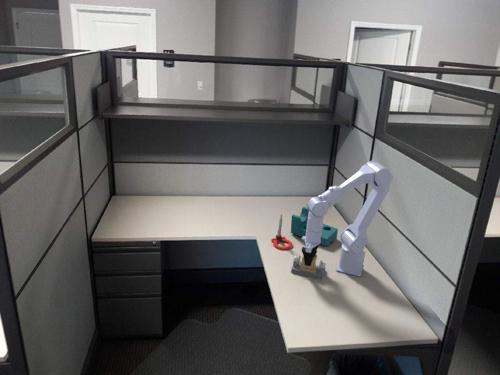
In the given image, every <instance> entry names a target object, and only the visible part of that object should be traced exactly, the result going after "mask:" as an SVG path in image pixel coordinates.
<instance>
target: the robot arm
mask: <svg viewBox="0 0 500 375" xmlns="http://www.w3.org/2000/svg"><path fill="white" fill-rule="evenodd" d="M393 179H394V177H393V175H392V172H391V170H390V169H389V168H387V167H385V166H383V165H382V164H380V163H379V162H378V161H376V160H369V161H368V162H366V163H365V164H364V165H362V166H361V167H360V168H359V170H358V171H356V173H354V174H352V175H351V177H349V178H348V179H346V180H345V181H344V182H343V183H341V184H340V185H332V186H329V187H328V189H327V190H326V191H324V192H322V193H321V194H319V195H317V196H314V197H311V198H310V199H309V201H308V202H307V203H306V208H308V209H309V214H308V221H307V229H306V236H303V237H301V240H302V241H303V242H304V243H305V246H302V248H301V253H302V257H303V256H304V263H305V265H307V266H311V263H312V260H313V257H314V256H315V255H317V253H318V248H319V246H320V245H321V244H320V243H321V241H322V239H321V233H322V226H323V224H324V218H325V216H326V215H327V214H328V212H329V210H330V209H331V208H332V207H333V206H334V205H336V204H338V203H340V202H341V201H342V200H344V198H345V194H347V193H349V192H351V191H352V190H354V189H355V188H357V187H359V186H360V185H362V184H368V185H371V187H372V189H371V190H370V191H371V192H369V194H368V196H367V198H366V200H365V201H364V204H363V205H362V207H361V208H360V211H359V213H358V215H357V216H356V218H355V220H353V223H350V224H348V225H347V227H345V229H344V230H343V231H342V232H341V233H340V235H339V236H340V237H339V238H340V241H341V249H340V254H339V256H340V257H339V260H338V263H337V266H336V269H335V271H336V272H340V273H344V274H347V275H352V276H355V277H356V276H357V277H361V276H362V272H363V269H364V261H365V257H366V251H364V250H365V247H366V242H367V241H368V234H367V230H368V228H369V226H370V225H371V223H372V221H373V219H374V218H375V216H376V214H377V213H378V211H379V209H380V208H381V205H382V204H383V202H384V200H385V198H386V196H387V195H388V193H389V192H390V186H391V183H392V180H393Z"/></svg>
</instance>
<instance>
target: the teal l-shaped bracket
mask: <svg viewBox="0 0 500 375" xmlns="http://www.w3.org/2000/svg"><path fill="white" fill-rule="evenodd" d="M308 214H309V209H308V207H307V206H302V208H301V212H300V215H296V214H294V213H293V214H292V215H291V226H290V233H291V234H294V235H296V236H298V237H301V238H302V237H303V236H306V229H307V221H308ZM338 231H339V228H337V227H334V226H332V225H328V224H325V223H323V226H322V233H321V239H322V241H321V243H320V244H319V245H322V246H325V247H327V246H328V245H329V244H332V243H334V242H335V241H336V240H337V238H338Z"/></svg>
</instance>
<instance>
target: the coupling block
mask: <svg viewBox="0 0 500 375" xmlns="http://www.w3.org/2000/svg"><path fill="white" fill-rule="evenodd" d="M317 259H318V254H316V255H315V256H314V257H313V260H312V263H311V266H307V265H305V263H304V256H303V255H302V256H301V261H302V264H301V268H302V269H306V270H310V271H314V269H315V267H316V265H317V261H318V260H317Z"/></svg>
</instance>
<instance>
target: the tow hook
mask: <svg viewBox="0 0 500 375" xmlns="http://www.w3.org/2000/svg"><path fill="white" fill-rule="evenodd" d="M278 221H279V223H278V230H277V234H275V237H273V238H270V241H271V242H272V246H273V247H275V248H276V249H278V250H281V251H288V250H291V249H292V248H293V246H294V244H293V242H292V241H291V240H289V239H287V238H286V236H282V226H283V214H280V218H279V220H278ZM279 242H283V243H287V244H288V245H287V246H280V245H278V243H279Z"/></svg>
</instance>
